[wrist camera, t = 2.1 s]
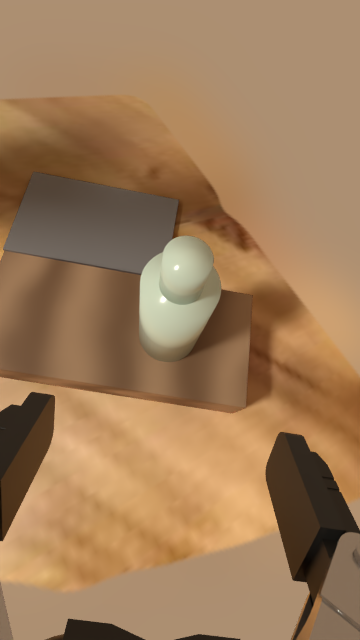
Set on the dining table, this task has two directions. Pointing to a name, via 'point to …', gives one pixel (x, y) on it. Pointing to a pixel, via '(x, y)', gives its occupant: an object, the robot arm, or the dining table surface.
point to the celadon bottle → (177, 298)
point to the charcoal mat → (91, 224)
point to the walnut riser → (113, 337)
